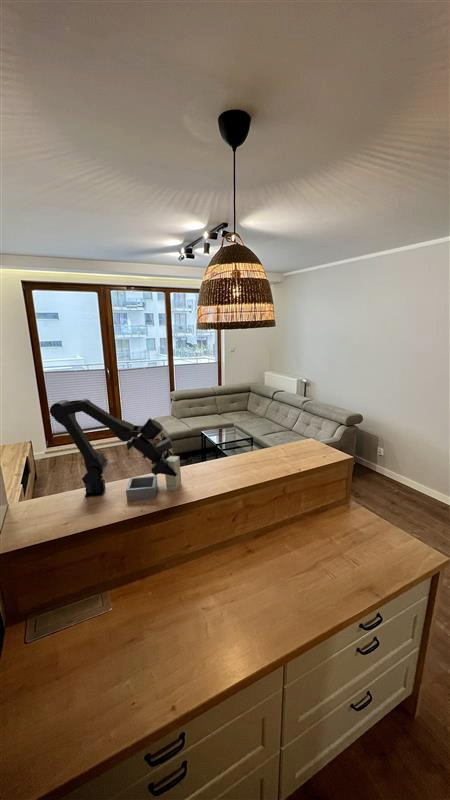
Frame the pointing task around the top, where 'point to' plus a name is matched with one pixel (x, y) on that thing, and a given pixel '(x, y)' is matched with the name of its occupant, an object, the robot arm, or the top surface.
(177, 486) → the skincare box
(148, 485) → the gray rectangular frame
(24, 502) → the top surface
